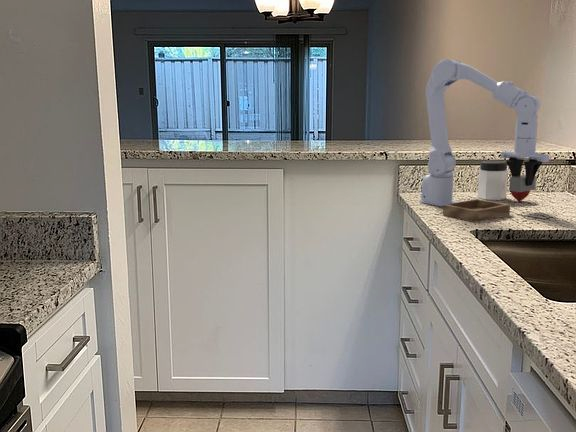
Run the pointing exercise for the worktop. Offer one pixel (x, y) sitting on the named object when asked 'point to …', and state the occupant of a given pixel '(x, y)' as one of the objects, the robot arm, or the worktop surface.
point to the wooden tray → (476, 210)
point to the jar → (492, 180)
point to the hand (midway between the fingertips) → (522, 184)
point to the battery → (521, 184)
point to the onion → (520, 195)
